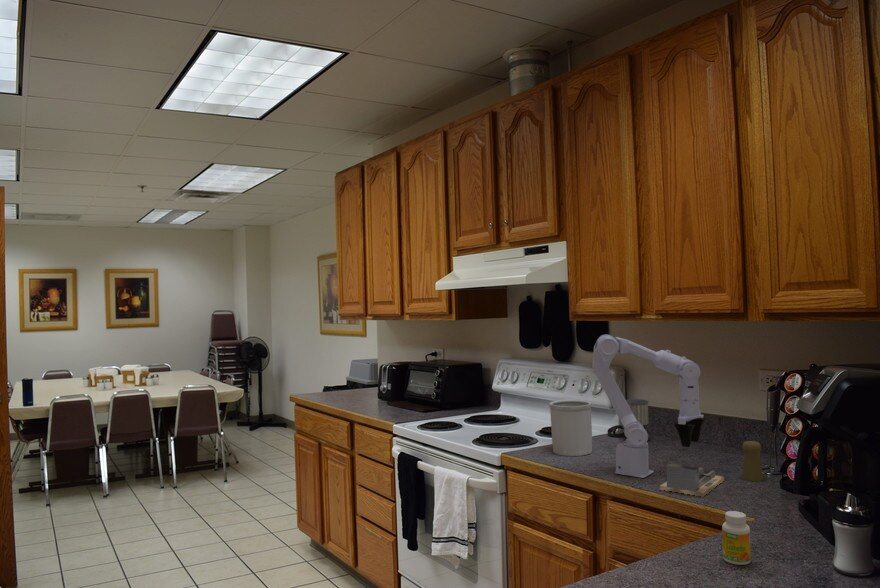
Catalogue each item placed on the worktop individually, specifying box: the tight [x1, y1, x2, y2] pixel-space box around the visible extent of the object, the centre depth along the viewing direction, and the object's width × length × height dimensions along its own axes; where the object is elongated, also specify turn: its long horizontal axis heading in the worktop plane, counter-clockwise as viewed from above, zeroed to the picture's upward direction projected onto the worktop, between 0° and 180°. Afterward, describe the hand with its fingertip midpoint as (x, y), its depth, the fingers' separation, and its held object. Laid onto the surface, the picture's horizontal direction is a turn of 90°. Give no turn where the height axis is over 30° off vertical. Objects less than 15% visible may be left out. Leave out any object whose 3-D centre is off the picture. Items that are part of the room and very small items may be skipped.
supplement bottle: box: [721, 510, 752, 566], centre depth 138 cm, size 5×5×10 cm
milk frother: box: [607, 398, 651, 442], centre depth 253 cm, size 14×16×15 cm
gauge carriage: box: [692, 466, 711, 480], centre depth 190 cm, size 8×5×4 cm, turn 50°
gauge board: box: [659, 470, 725, 498], centre depth 191 cm, size 12×19×3 cm, turn 140°
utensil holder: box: [548, 398, 593, 457], centre depth 234 cm, size 15×15×18 cm
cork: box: [741, 440, 765, 482], centre depth 196 cm, size 6×6×11 cm
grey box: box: [665, 463, 699, 492], centre depth 184 cm, size 8×3×6 cm, turn 50°
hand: (690, 444), depth 201 cm, fingers open, 7 cm apart
